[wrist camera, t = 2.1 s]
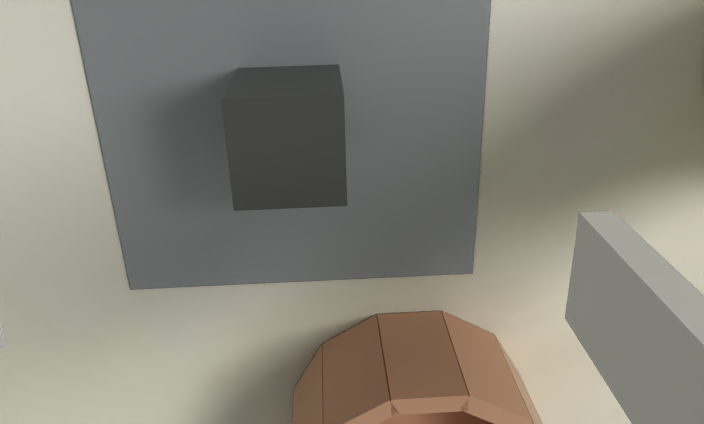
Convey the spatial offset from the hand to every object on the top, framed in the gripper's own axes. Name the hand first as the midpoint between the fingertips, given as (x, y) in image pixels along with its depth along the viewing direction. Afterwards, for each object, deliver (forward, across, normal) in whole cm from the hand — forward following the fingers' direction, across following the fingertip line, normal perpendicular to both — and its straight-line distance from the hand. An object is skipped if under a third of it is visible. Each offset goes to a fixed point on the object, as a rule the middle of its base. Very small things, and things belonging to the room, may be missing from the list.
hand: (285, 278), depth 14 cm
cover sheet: (+14, 0, 0) cm, 14 cm away
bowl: (+13, +4, -16) cm, 21 cm away
